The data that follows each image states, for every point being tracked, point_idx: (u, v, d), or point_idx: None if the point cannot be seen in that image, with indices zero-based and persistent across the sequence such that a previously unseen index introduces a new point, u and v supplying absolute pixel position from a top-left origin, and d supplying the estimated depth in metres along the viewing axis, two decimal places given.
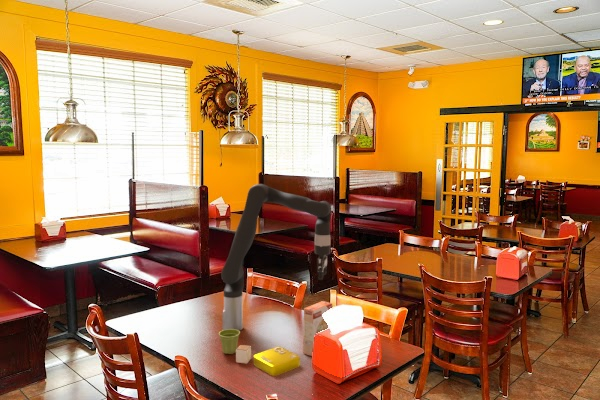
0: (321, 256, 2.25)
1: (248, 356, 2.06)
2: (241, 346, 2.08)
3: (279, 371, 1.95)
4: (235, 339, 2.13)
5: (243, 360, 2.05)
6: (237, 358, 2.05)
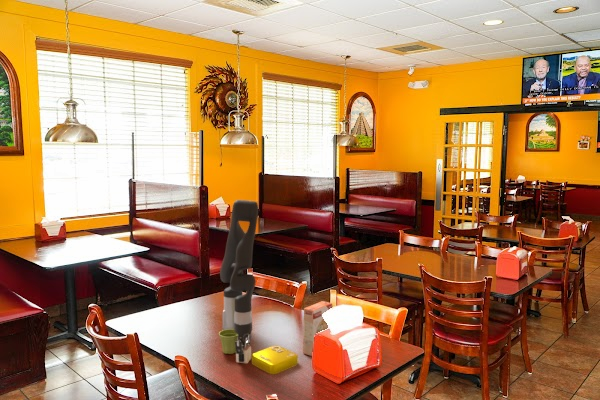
0: (240, 335, 2.03)
1: (248, 356, 2.06)
2: None
3: (278, 369, 1.96)
4: (235, 339, 2.13)
5: None
6: (237, 358, 2.05)
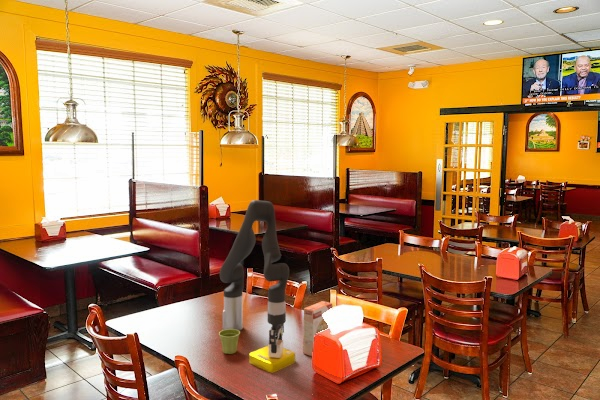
0: (274, 326, 1.98)
1: (281, 350, 2.02)
2: (273, 340, 2.03)
3: (277, 368, 1.98)
4: (235, 339, 2.13)
5: (275, 355, 2.00)
6: (270, 352, 2.01)
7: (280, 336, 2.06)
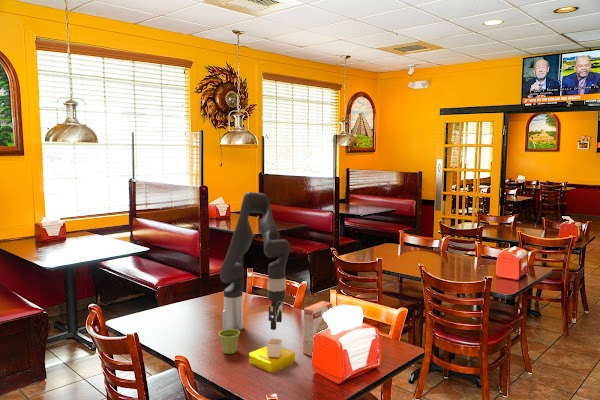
0: (274, 303, 1.96)
1: (279, 350, 2.02)
2: (272, 340, 2.04)
3: (276, 368, 1.98)
4: (235, 339, 2.13)
5: (274, 354, 2.01)
6: (268, 352, 2.01)
7: (280, 313, 2.05)
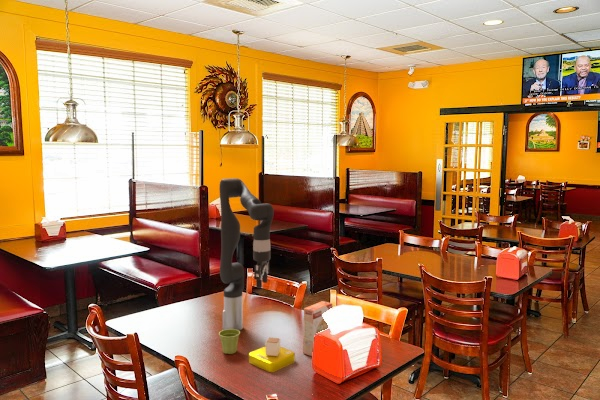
0: (259, 263, 2.09)
1: (278, 348, 2.03)
2: (270, 338, 2.05)
3: (276, 367, 1.98)
4: (235, 339, 2.13)
5: (272, 353, 2.02)
6: (267, 351, 2.03)
7: (265, 274, 2.17)
